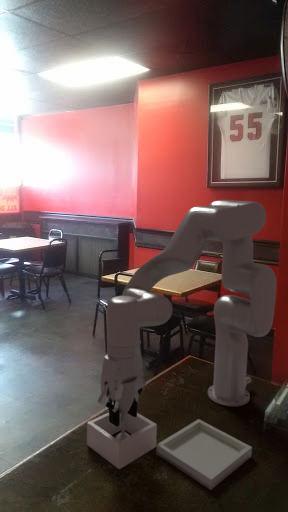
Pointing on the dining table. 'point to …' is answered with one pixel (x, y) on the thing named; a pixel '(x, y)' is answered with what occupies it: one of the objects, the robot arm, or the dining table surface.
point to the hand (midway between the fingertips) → (123, 418)
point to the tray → (204, 453)
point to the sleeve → (126, 448)
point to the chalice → (125, 406)
